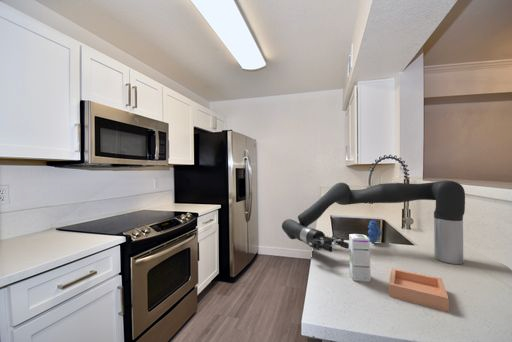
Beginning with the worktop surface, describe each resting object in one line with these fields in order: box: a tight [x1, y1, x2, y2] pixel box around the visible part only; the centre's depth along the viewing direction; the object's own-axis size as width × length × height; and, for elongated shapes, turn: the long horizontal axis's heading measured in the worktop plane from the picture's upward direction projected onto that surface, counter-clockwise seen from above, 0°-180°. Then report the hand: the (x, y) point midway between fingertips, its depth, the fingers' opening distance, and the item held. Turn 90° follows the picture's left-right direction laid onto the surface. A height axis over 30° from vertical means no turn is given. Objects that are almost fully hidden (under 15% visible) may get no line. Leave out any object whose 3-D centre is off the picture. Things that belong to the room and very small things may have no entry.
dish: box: [388, 268, 450, 313], centre depth 68 cm, size 13×13×4 cm
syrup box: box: [348, 233, 372, 283], centre depth 78 cm, size 6×6×14 cm
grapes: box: [367, 220, 383, 244], centre depth 116 cm, size 12×7×12 cm, turn 138°
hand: (340, 247), depth 86 cm, fingers open, 8 cm apart
